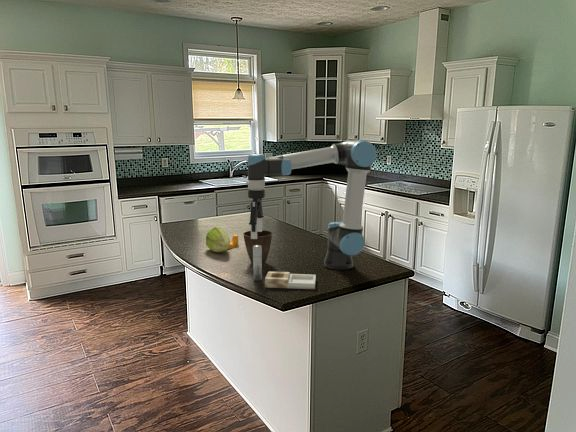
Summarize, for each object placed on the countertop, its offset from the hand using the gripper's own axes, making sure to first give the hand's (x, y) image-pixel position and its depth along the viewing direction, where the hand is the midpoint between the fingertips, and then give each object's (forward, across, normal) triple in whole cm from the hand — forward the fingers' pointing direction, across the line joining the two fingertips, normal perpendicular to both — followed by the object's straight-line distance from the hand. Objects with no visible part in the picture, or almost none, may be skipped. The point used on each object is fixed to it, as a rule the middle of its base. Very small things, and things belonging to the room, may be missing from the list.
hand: (256, 235), depth 195 cm
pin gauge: (+21, 0, 0) cm, 21 cm away
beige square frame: (+21, +5, +10) cm, 24 cm away
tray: (+21, +4, +21) cm, 30 cm away
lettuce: (+21, -41, -28) cm, 54 cm away
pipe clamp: (+22, -52, -25) cm, 62 cm away
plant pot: (+21, -25, -4) cm, 33 cm away
